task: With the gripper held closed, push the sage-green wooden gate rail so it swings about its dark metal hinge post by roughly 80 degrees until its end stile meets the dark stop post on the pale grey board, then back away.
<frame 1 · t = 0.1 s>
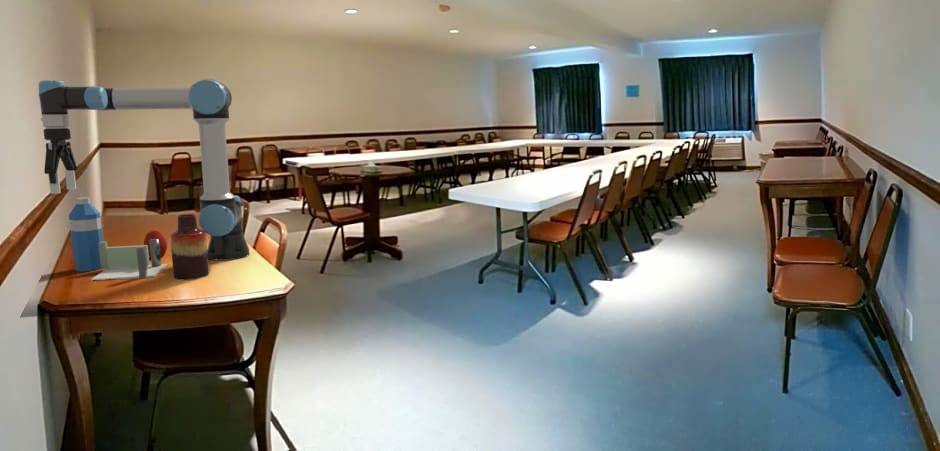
hand: (63, 191, 221), 28 cm above the table, fingers open, 13 cm apart
water bottle: (90, 268, 231), on the table
board: (131, 272, 223), on the table
stop post: (143, 277, 216), resting on board
gate: (124, 253, 228), point 5 cm above the table, hinge at 0.0°
apple: (156, 257, 249), on the table
vase: (191, 276, 217), on the table
hinge post: (156, 267, 230), resting on board
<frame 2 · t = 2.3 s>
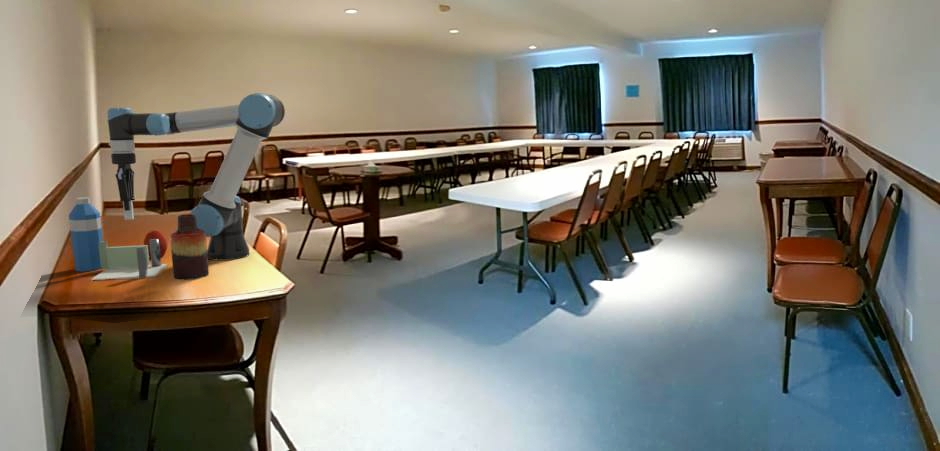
hand: (129, 219, 232), 17 cm above the table, fingers closed
nothing on the table moved.
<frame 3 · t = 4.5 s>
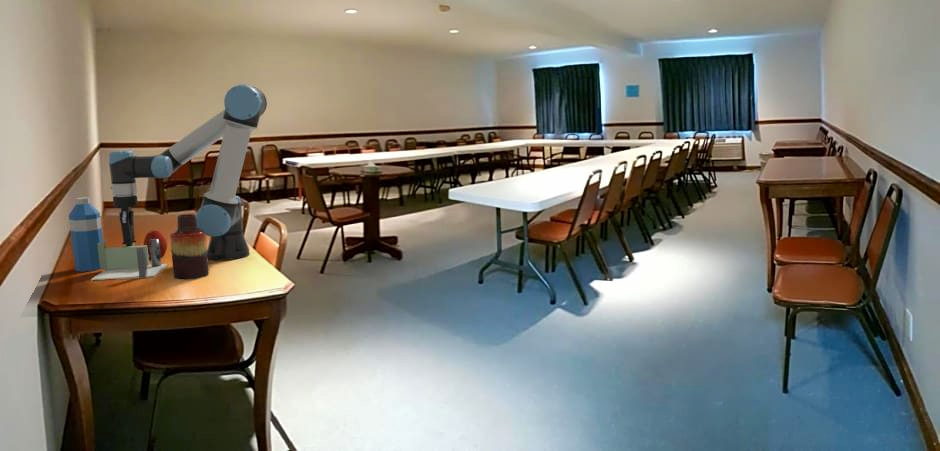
hand: (131, 261, 231), 2 cm above the table, fingers closed
gate: (123, 254, 227), point 5 cm above the table, hinge at 5.0°, touching gripper
everything else where it was.
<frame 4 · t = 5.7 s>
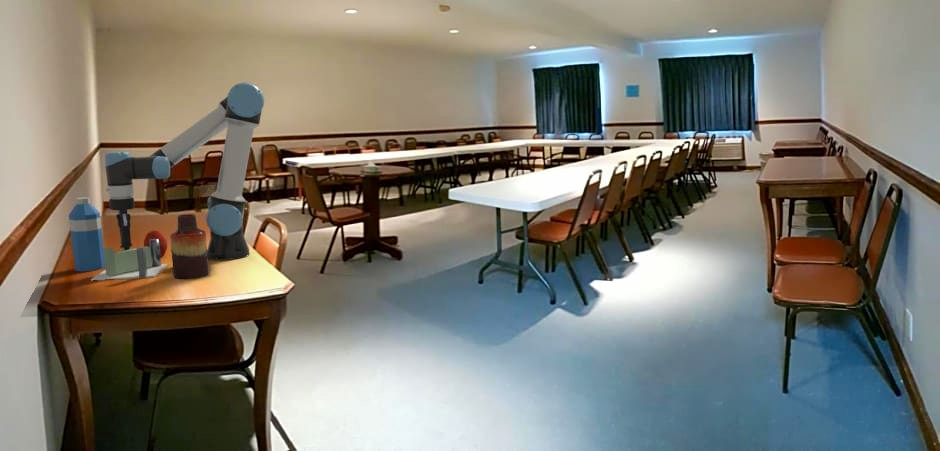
hand: (128, 265, 225), 2 cm above the table, fingers closed
gate: (128, 257, 221), point 5 cm above the table, hinge at 48.8°, touching gripper
everything else where it was.
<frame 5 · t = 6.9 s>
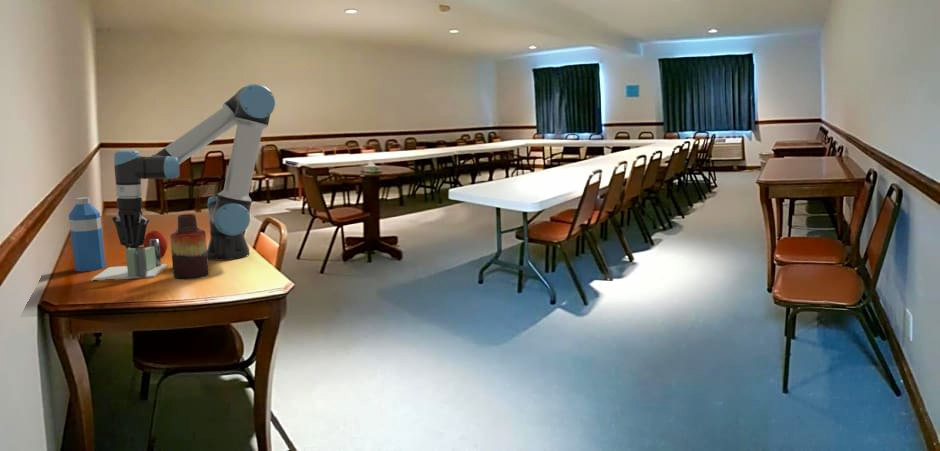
hand: (133, 266, 222), 2 cm above the table, fingers closed
gate: (141, 258, 220), point 5 cm above the table, hinge at 79.5°, touching gripper, stop post
everything else where it was.
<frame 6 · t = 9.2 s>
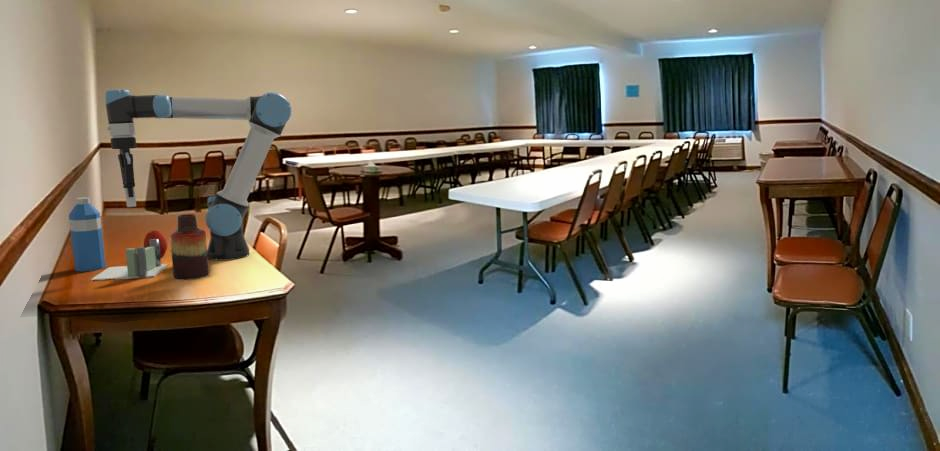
hand: (131, 206, 223), 22 cm above the table, fingers closed
gate: (141, 258, 220), point 5 cm above the table, hinge at 79.4°, touching stop post
everything else where it was.
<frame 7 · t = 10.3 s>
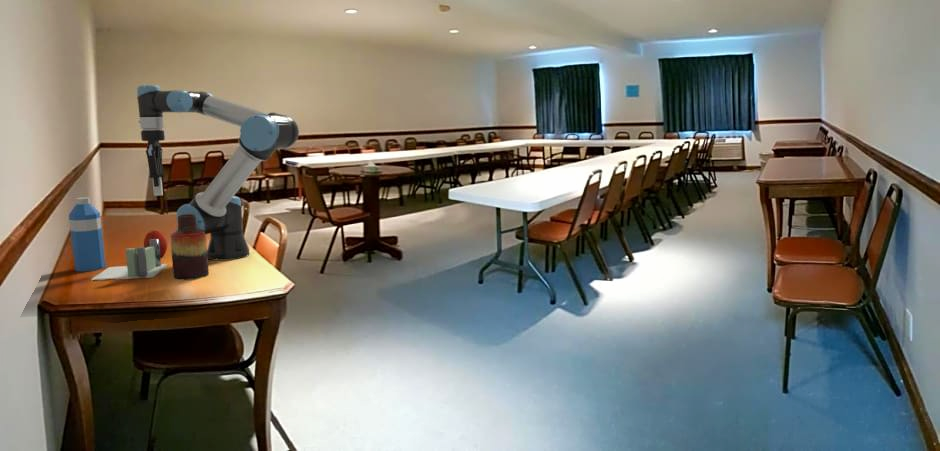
hand: (158, 195, 237), 24 cm above the table, fingers closed
nothing on the table moved.
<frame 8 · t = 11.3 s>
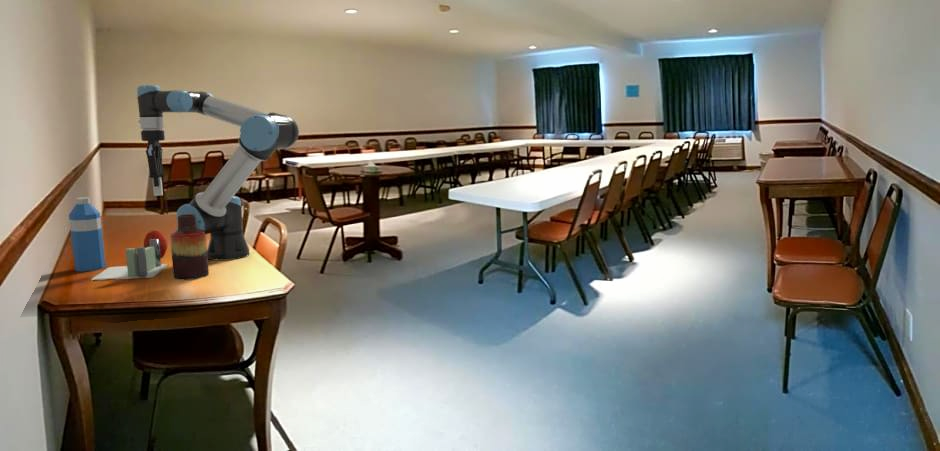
hand: (158, 195, 237), 24 cm above the table, fingers closed
nothing on the table moved.
at the end: gate at +79° (first picture: +0°) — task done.
